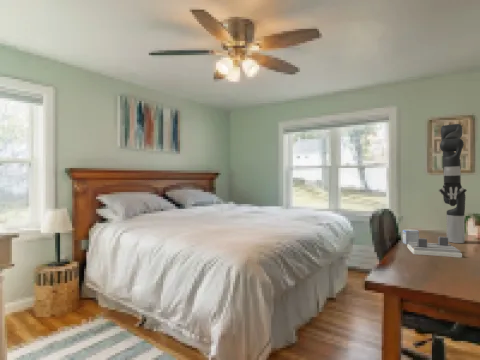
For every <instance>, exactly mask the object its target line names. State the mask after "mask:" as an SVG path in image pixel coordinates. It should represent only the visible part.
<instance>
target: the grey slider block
mask: <svg viewBox="0 0 480 360" xmlns="http://www.w3.org/2000/svg"><path fill="white" fill-rule="evenodd" d="M427 243H428V239H427V238H425V237H424V238H423V237H422V238H421V237H419V238H417V247H423V248H427Z"/></svg>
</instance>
